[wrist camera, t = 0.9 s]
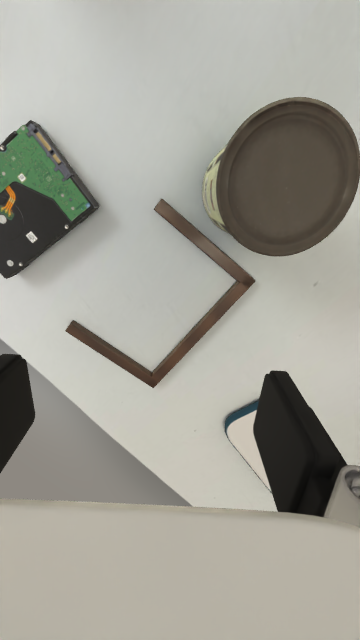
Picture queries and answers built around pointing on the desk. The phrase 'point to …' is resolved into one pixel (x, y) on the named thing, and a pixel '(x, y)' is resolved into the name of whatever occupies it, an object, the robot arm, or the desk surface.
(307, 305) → the desk surface
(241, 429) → the external hard drive
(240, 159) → the coffee can
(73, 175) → the disk drive
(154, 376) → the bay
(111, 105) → the desk surface
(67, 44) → the desk surface
